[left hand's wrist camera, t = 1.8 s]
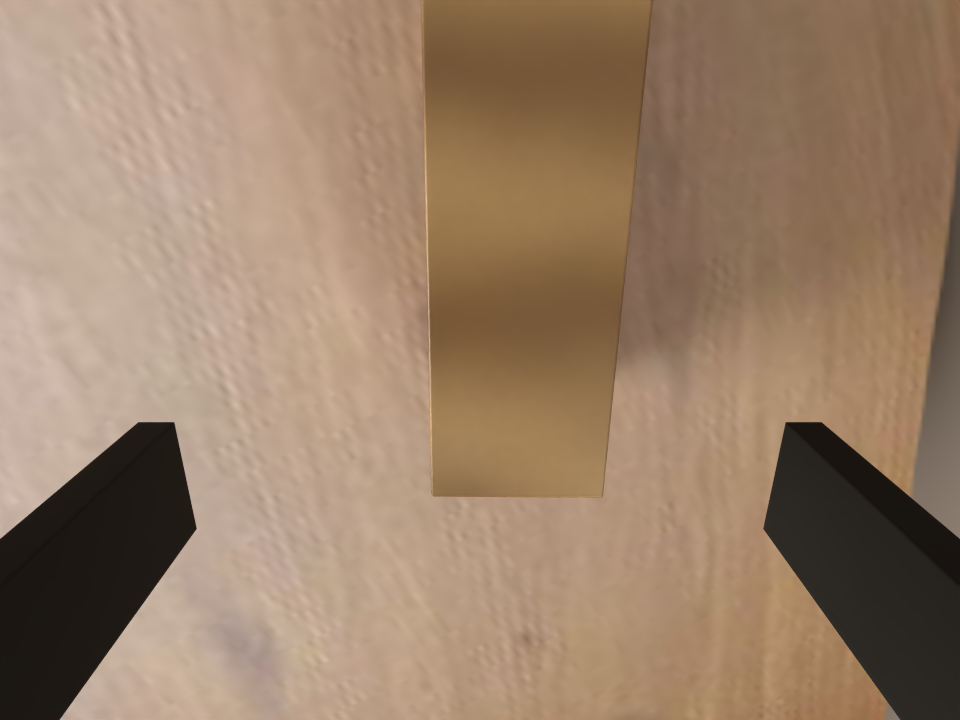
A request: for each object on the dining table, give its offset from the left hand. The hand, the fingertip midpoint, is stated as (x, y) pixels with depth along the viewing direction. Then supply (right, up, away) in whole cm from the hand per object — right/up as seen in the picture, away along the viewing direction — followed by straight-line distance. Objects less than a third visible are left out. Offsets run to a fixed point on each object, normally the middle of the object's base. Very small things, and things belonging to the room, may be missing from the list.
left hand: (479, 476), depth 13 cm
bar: (+1, +11, +11) cm, 16 cm away
